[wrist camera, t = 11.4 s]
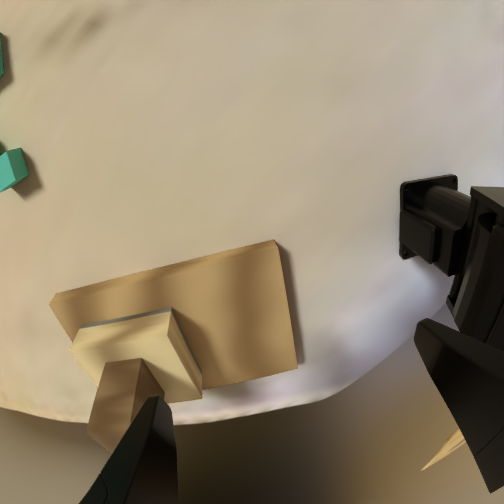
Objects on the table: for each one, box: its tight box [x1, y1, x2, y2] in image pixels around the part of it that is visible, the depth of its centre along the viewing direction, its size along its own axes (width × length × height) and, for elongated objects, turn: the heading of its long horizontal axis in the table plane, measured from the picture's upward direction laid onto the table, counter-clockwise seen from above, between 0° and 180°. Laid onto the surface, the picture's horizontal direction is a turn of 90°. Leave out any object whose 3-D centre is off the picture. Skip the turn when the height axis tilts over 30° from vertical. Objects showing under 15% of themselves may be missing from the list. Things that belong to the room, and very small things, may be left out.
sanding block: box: [69, 307, 202, 453], centre depth 16 cm, size 8×7×9 cm
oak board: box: [49, 240, 298, 389], centre depth 21 cm, size 18×12×2 cm, turn 102°
